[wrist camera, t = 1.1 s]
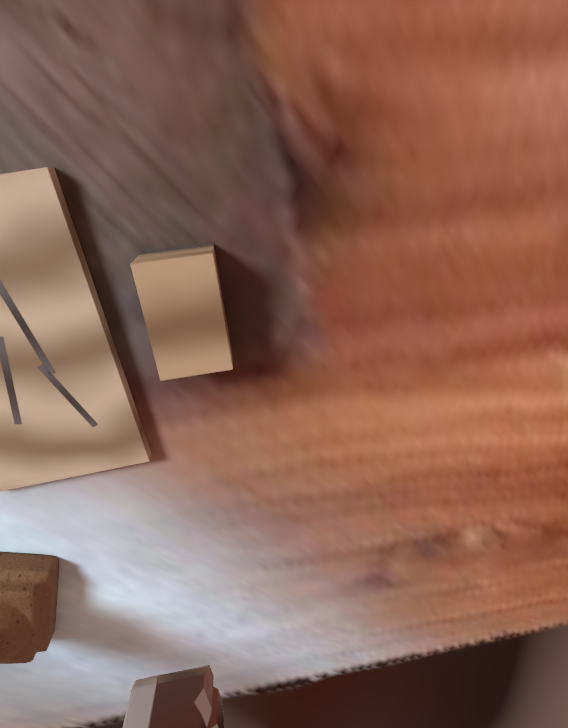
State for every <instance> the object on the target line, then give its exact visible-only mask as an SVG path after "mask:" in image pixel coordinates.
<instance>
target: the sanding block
mask: <svg viewBox="0 0 568 728" xmlns="http://www.w3.org/2000/svg"><path fill="white" fill-rule="evenodd" d="M130 265H131V269H132V272H133V276H134V280H135V284H136V288H137V292H138V296H139V300H140V303H141V307H142V311H143V315H144V319H145V323H146V327H147V331H148V334H149V338H150V342H151V346H152V350H153V354H154V358H155V362H156V366H157V369H158V373H159V377H160V381H162V380H168V379H175V378H181V377H188V376H194V375H201V374H207V373H214V372H220V371H227V370H233V362H232V349H231V343H230V337H229V331H228V325H227V319H226V314H225V308H224V302H223V296H222V290H221V284H220V278H219V273H218V267H217V261H216V255H215V249H214V244H206V245H198V246H190V247H183V248H175V249H167V250H160V251H152V252H144V253H140V254H139V255H138V256H137V258H136V259H135V260H134V261H133V262H132V263H131V264H130Z"/></svg>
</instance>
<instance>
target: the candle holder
mask: <svg viewBox="0 0 568 728" xmlns="http://www.w3.org/2000/svg"><path fill="white" fill-rule="evenodd" d="M58 576H59V560H58V558H57V557H55V556H49V555H40V554H26V553H10V552H0V664H12V663H27V662H30V661H32V660H33V659H34V656H35V654H36V652H42V651H46V650H47V648H48V646H49V643H50V640H51V638H52V635H53V632H54V627H55V619H56V604H57V590H58Z"/></svg>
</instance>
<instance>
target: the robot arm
mask: <svg viewBox="0 0 568 728" xmlns="http://www.w3.org/2000/svg"><path fill="white" fill-rule="evenodd" d="M123 728H224V715H223V706H222V701H221V696H220V693H219V690H218V689H217V688H215V687H213V673H212V671H211V668H210V666H209V665H208V666H203V667H198V668H193V669H188V670H183V671H178V672H173V673H169V674H164V675H158V676H153V677H149V678H144V679H140V680H136V681H135V683H134V686H133V688H132V690H131V693H130V698H129V702H128V706H127V711H126V715H125V720H124V725H123Z"/></svg>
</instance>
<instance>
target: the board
mask: <svg viewBox="0 0 568 728" xmlns="http://www.w3.org/2000/svg"><path fill="white" fill-rule="evenodd" d="M150 457H151V450H150V447H149V444H148V441H147V438H146V435H145V432H144V429H143V426H142V423H141V421H140V418H139V415H138V412H137V409H136V406H135V403H134V400H133V397H132V394H131V391H130V388H129V385H128V382H127V380H126V377H125V374H124V371H123V368H122V365H121V362H120V359H119V356H118V353H117V350H116V347H115V344H114V341H113V339H112V336H111V333H110V330H109V327H108V324H107V321H106V318H105V315H104V312H103V309H102V306H101V303H100V300H99V297H98V295H97V292H96V289H95V286H94V283H93V280H92V277H91V274H90V271H89V268H88V265H87V262H86V259H85V256H84V254H83V251H82V248H81V245H80V242H79V239H78V236H77V233H76V230H75V227H74V224H73V221H72V218H71V215H70V213H69V210H68V207H67V204H66V201H65V198H64V195H63V192H62V189H61V186H60V183H59V180H58V177H57V174H56V171H55V169H54V167H46V168H39V169H33V170H26V171H20V172H13V173H7V174H0V491H5V490H10V489H15V488H20V487H25V486H30V485H35V484H40V483H45V482H50V481H55V480H60V479H65V478H70V477H75V476H80V475H85V474H90V473H94V472H99V471H104V470H109V469H114V468H119V467H124V466H129V465H134V464H139V463H144V462H149V461H150Z"/></svg>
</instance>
